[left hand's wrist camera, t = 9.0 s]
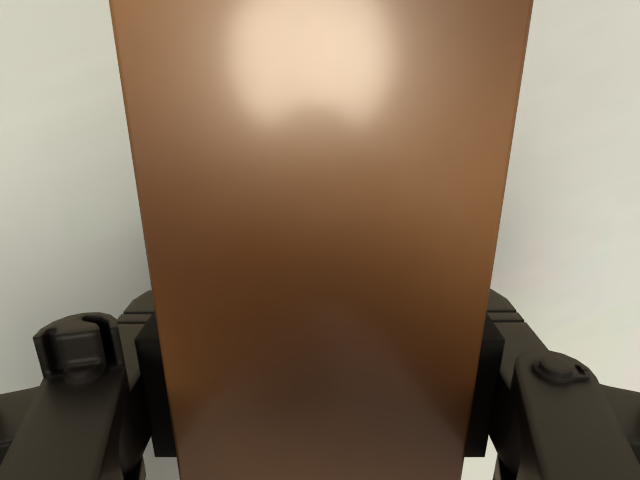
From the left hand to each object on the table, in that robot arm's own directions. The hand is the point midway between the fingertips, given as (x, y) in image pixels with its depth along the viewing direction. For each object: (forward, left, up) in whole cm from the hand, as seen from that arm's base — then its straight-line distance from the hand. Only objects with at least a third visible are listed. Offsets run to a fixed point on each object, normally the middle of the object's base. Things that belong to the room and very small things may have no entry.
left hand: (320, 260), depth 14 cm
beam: (+26, +19, -1) cm, 32 cm away
